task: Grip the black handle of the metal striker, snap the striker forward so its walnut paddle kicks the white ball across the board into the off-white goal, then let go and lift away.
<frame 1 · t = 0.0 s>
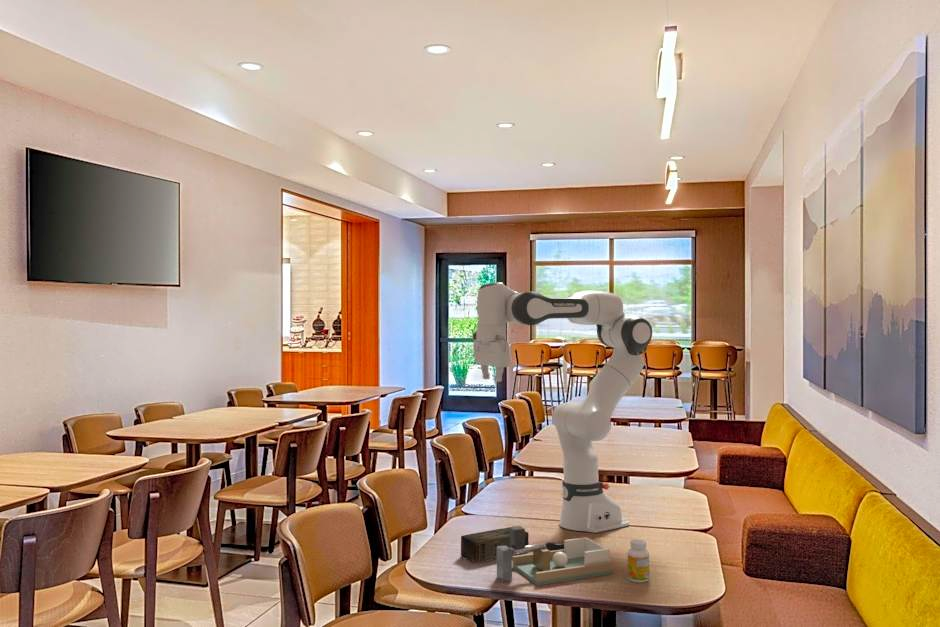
hand: (492, 380, 237), 48 cm above the table, tool pointing down, fingers open, 8 cm apart
grey tall block: (504, 579, 199), on the table
ball: (560, 559, 205), point 3 cm above the table, touching foosball board
cell phone: (552, 553, 222), on the table
olive storage box: (495, 555, 220), on the table
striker: (527, 548, 202), point 7 cm above the table, slide at 0.0 cm
foosball board: (561, 570, 206), on the table
supplement bottle: (638, 580, 198), on the table
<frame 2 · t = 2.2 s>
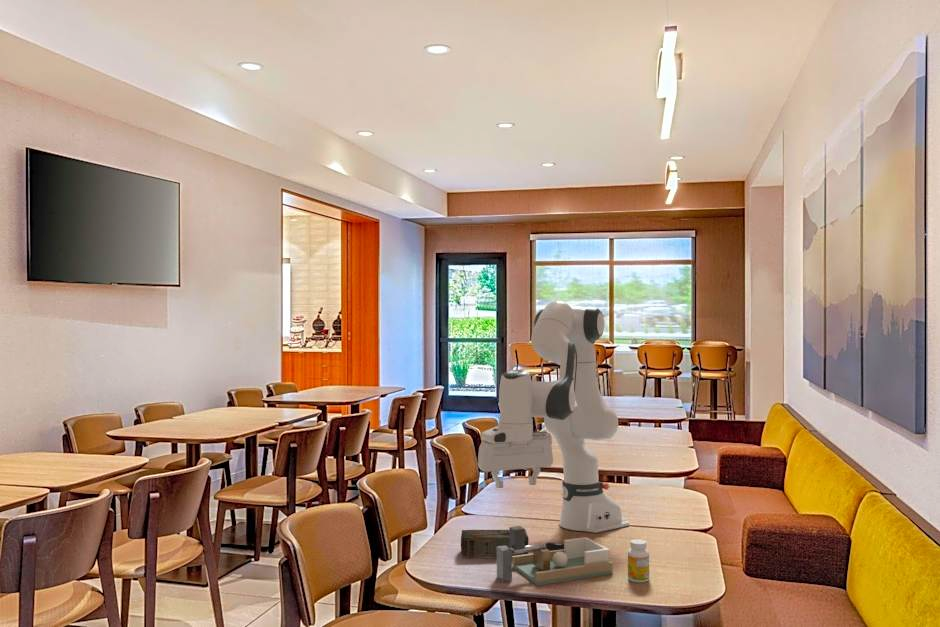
hand: (516, 486, 201), 24 cm above the table, tool pointing down, fingers open, 8 cm apart
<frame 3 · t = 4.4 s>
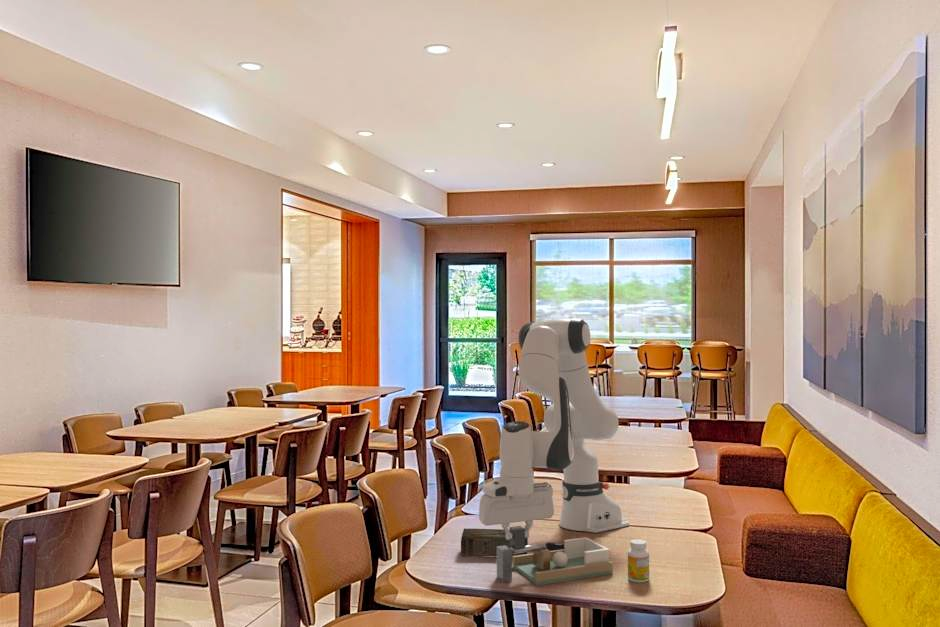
hand: (517, 538, 201), 10 cm above the table, tool pointing down, fingers closed on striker, 3 cm apart
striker: (527, 548, 202), point 7 cm above the table, slide at 0.0 cm, touching gripper
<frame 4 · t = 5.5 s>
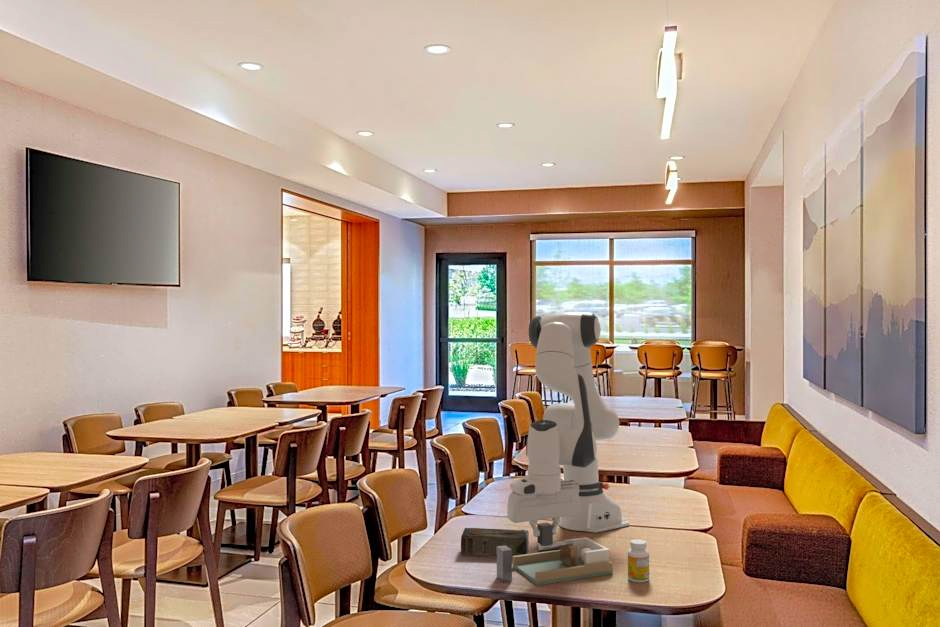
hand: (544, 535, 204), 10 cm above the table, tool pointing down, fingers closed on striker, 3 cm apart
ball: (587, 555, 208), point 3 cm above the table, tilted 128°, touching foosball board
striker: (555, 544, 205), point 7 cm above the table, slide at 8.1 cm, touching gripper
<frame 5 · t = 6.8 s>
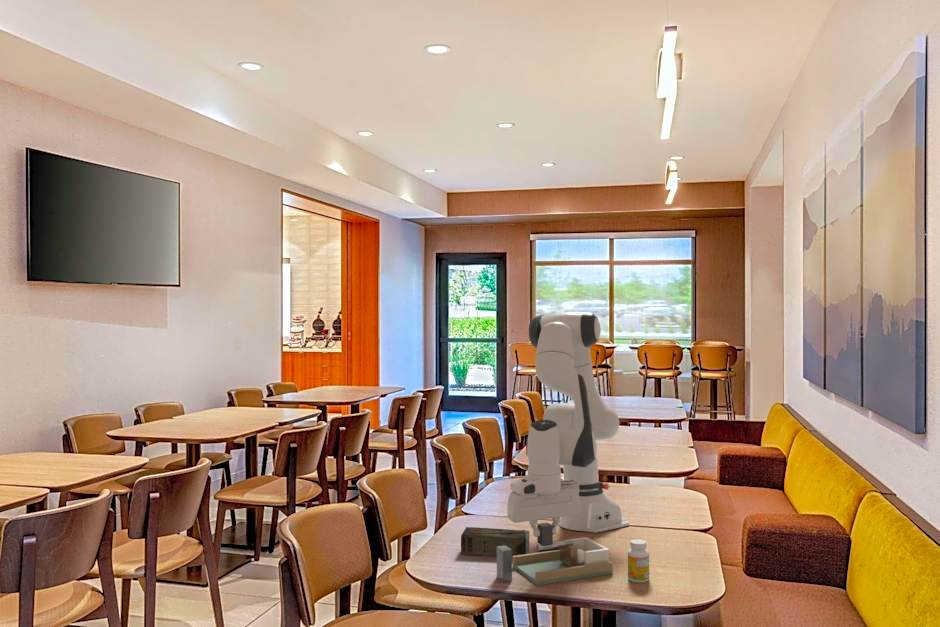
hand: (544, 535, 204), 10 cm above the table, tool pointing down, fingers closed on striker, 3 cm apart
ball: (578, 556, 207), point 3 cm above the table, tilted 159°, touching foosball board
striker: (555, 544, 205), point 7 cm above the table, slide at 8.1 cm, touching gripper
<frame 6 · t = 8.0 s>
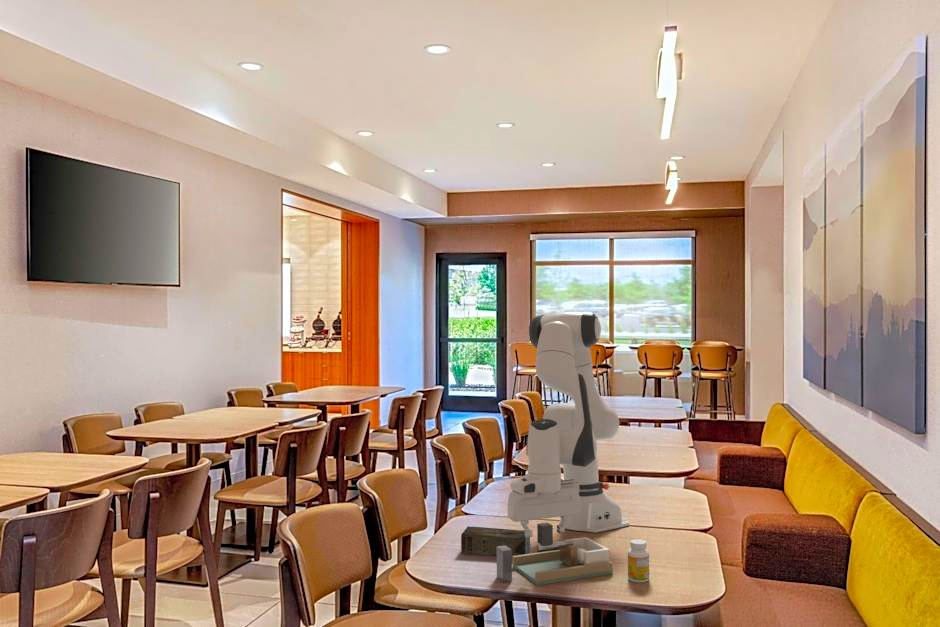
hand: (544, 534, 204), 10 cm above the table, tool pointing down, fingers open, 8 cm apart
ball: (581, 556, 208), point 3 cm above the table, tilted 176°, touching foosball board
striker: (555, 544, 205), point 7 cm above the table, slide at 8.1 cm
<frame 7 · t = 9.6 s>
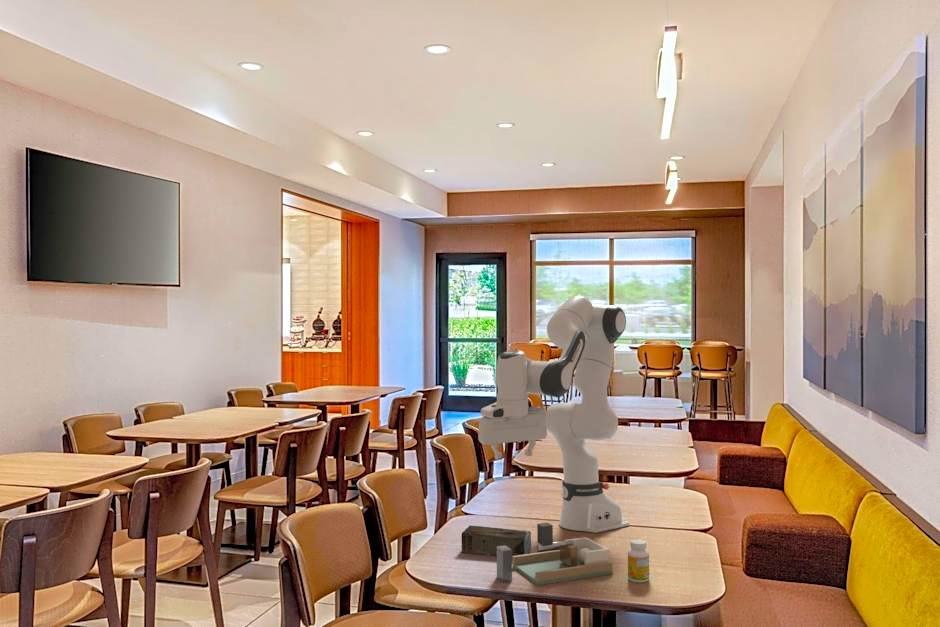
hand: (513, 457, 218), 28 cm above the table, tool pointing down, fingers open, 8 cm apart
ball: (585, 555, 208), point 3 cm above the table, tilted 141°, touching foosball board
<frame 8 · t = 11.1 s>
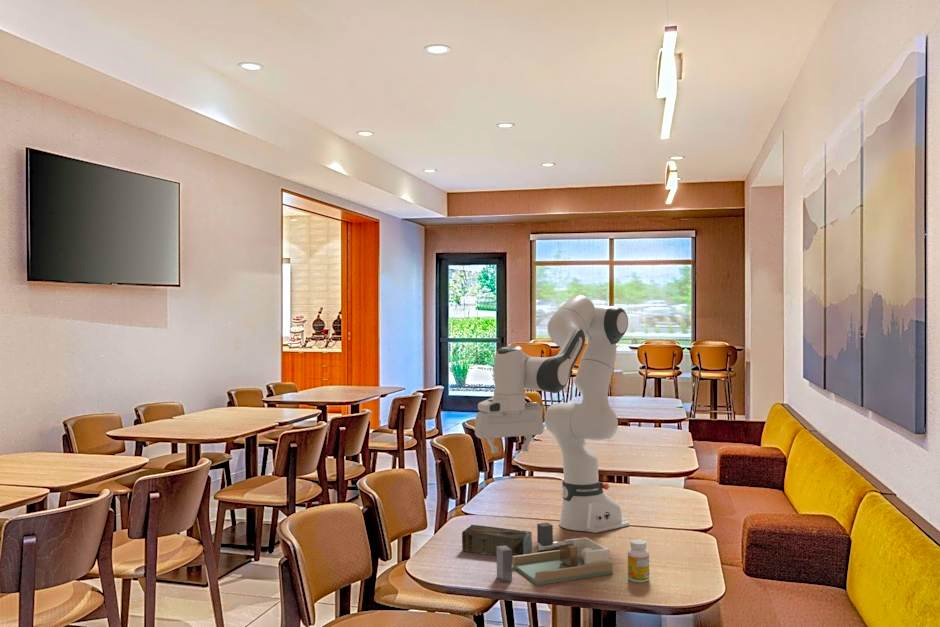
hand: (509, 452, 219), 29 cm above the table, tool pointing down, fingers open, 8 cm apart
ball: (587, 555, 208), point 3 cm above the table, tilted 121°, touching foosball board
at the end: ball inside the target area (1.6 cm from its centre), point 3.0 cm above the table; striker slide at 8.1 cm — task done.
